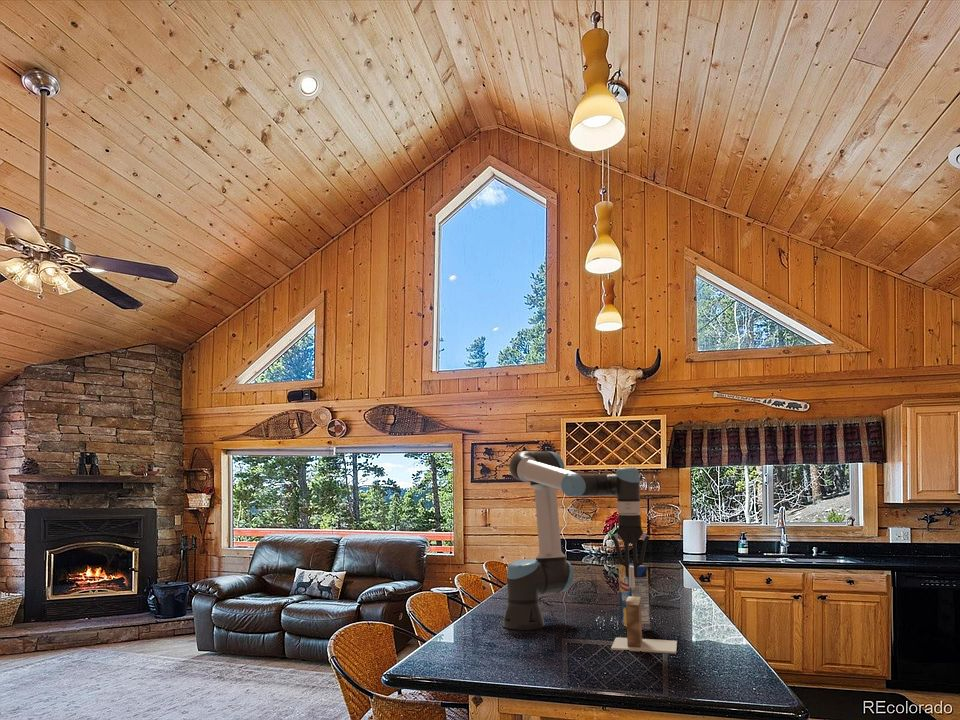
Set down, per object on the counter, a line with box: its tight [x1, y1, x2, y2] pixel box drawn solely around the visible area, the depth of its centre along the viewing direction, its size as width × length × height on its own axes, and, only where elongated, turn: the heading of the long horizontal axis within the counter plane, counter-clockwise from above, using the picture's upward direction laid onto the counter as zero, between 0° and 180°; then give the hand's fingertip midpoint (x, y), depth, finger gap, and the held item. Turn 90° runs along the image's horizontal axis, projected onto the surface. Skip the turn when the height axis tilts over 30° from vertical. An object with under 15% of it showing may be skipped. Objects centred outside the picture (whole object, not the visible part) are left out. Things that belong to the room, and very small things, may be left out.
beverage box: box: [618, 562, 651, 631], centre depth 257 cm, size 7×11×22 cm, turn 11°
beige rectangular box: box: [626, 596, 643, 648], centre depth 229 cm, size 4×10×14 cm, turn 164°
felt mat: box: [610, 637, 678, 655], centre depth 227 cm, size 20×15×1 cm
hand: (632, 587), depth 231 cm, fingers closed
